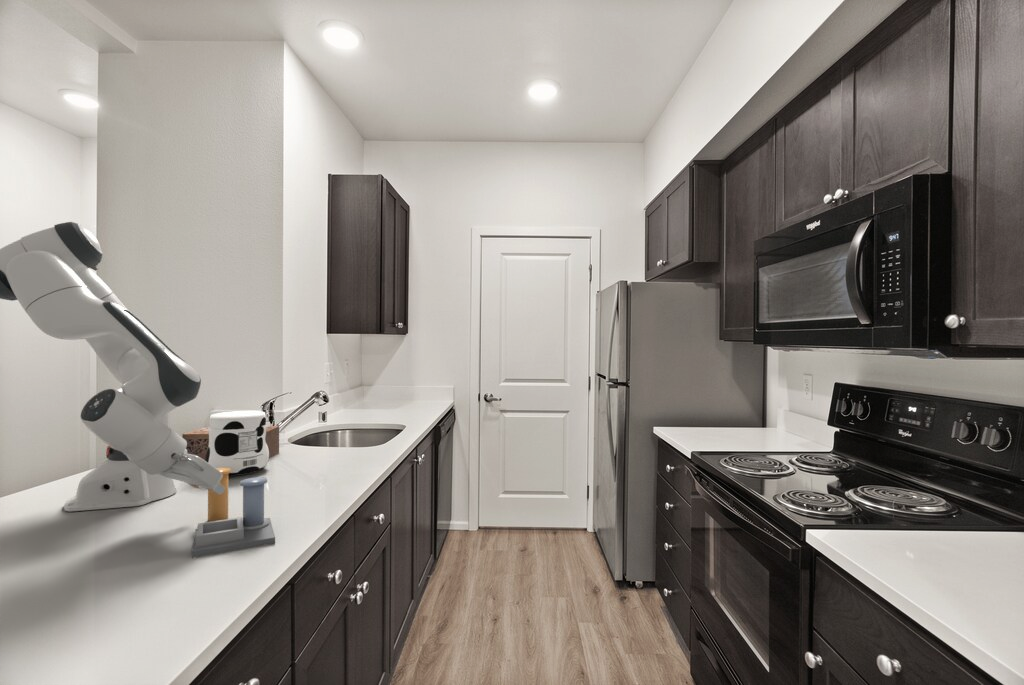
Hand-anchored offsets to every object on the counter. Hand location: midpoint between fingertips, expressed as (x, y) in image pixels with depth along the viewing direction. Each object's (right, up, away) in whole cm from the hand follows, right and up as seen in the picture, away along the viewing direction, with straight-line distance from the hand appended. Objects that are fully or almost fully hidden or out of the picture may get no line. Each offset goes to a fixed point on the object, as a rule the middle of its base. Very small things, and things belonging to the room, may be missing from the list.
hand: (209, 488), depth 113 cm
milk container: (-17, -8, +43) cm, 47 cm away
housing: (+11, -7, -10) cm, 17 cm away
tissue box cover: (-29, -8, +63) cm, 70 cm away
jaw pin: (+1, -8, +2) cm, 8 cm away
